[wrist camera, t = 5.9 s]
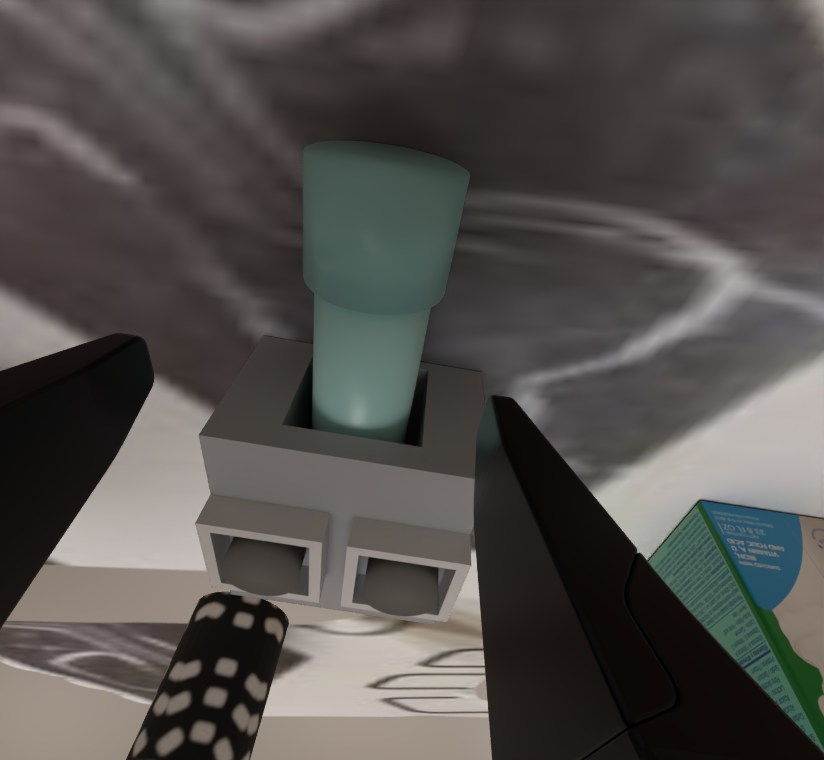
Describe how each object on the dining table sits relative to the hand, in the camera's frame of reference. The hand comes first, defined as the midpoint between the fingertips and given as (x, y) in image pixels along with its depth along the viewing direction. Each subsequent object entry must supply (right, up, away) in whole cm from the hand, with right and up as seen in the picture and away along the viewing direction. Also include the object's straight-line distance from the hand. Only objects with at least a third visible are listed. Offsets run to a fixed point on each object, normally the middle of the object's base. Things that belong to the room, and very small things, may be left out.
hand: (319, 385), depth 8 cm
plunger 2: (+1, -8, +12) cm, 15 cm away
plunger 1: (-5, -7, +12) cm, 15 cm away
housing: (-1, -3, +18) cm, 18 cm away
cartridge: (0, +1, +14) cm, 14 cm away
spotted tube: (-14, -21, +33) cm, 41 cm away
